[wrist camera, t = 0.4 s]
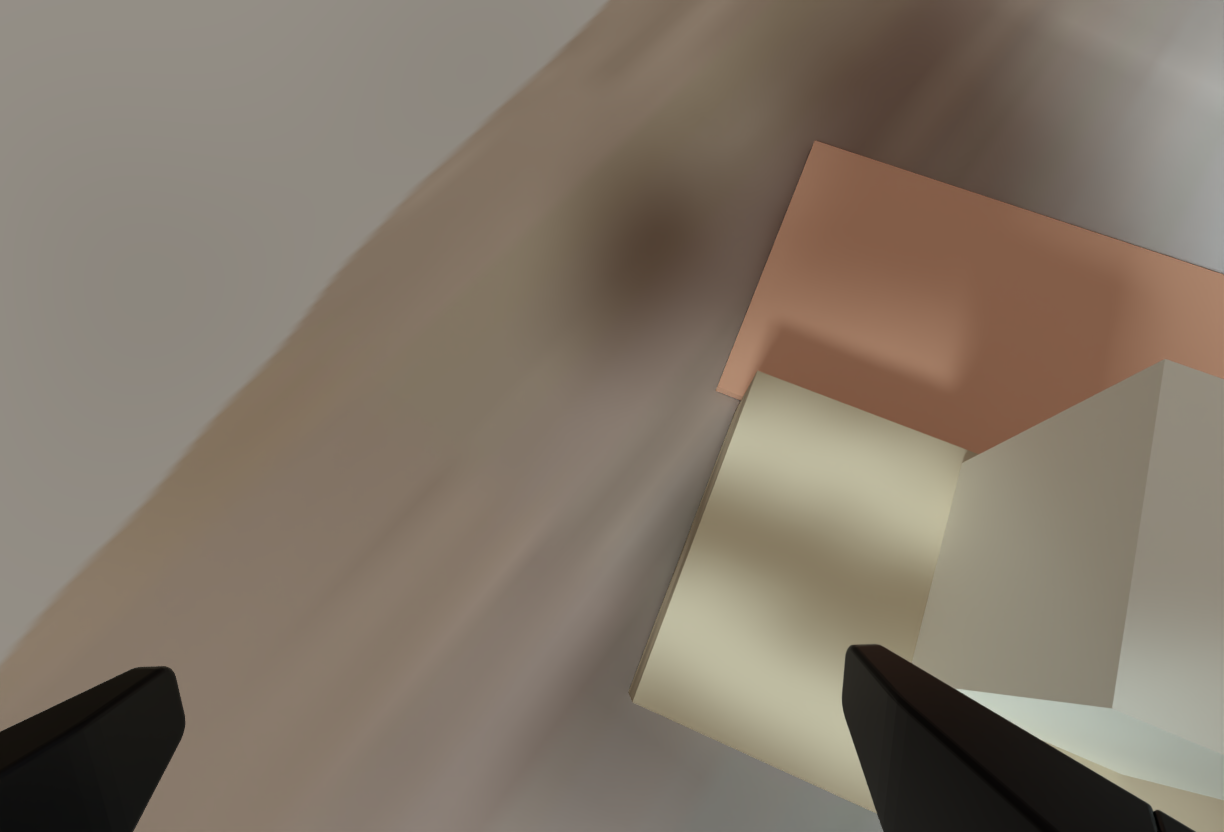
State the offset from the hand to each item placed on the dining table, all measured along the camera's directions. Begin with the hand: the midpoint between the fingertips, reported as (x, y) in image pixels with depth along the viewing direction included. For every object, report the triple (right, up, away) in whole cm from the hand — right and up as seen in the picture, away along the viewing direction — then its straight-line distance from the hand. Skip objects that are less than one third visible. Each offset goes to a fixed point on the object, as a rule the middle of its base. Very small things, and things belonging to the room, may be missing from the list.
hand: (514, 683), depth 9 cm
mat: (+18, +6, +18) cm, 26 cm away
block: (+14, -2, +10) cm, 17 cm away
